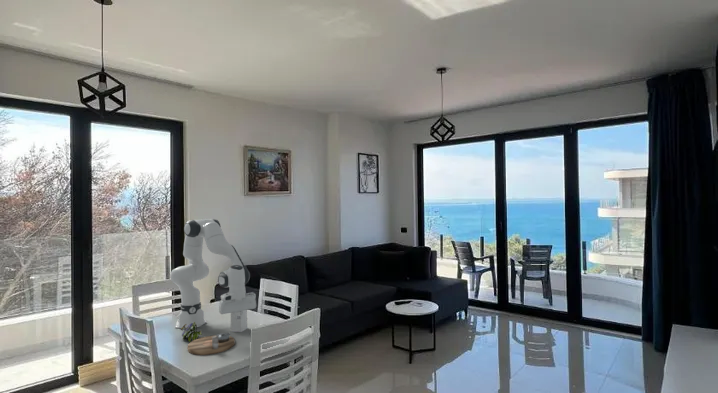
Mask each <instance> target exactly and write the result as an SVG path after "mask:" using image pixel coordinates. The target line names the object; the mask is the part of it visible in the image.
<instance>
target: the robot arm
mask: <svg viewBox="0 0 718 393" xmlns="http://www.w3.org/2000/svg"><path fill="white" fill-rule="evenodd" d="M183 226H184V227H183V232H184V234H185V238H184V242H183V251H182V255H183V257H184V259H186V260H188V264H186V265H181V266H177V267H176V268H173V269H172V270H171V272H170V276H169V277H170V281H171V282H172V283H173V284H174V285H176V286H177V287H178V289H179V292H180V296H181V297H180V298H181V304H180V312H179V314H178V315H176V320H177V321H176V323H175V329H181V328H182V327H183V326H184V325H185V324H186V326H185V328H187V327H188V326H189V325H190V324H191V323H194V322H195V323H196V325H197V328H199V327H202V326H203V325H206V324H207V323H208V321H207V320H206V319H205V313H204V312H205V311H204V310H203V309H202V302H201V290H200V289H199V288H197V287H195V286H194V283H193V282H197V281H201V280H203V279H205V278H207V277H208V276H209V273H210V269H209V266H208V265H207V264H206V263H205V262H204V259H203V247H204V246H203V245H204V241H205V244H206V247H207V249H208V250H209V251H210V252H211V253H212V254H215V255H220V256H224V257H227V258H228V259H229V260H230V262H231V263H232V264H231V266H229V268H228V269H226V270H223V271H221V272H220V273H219V274H218V277H217V278H218V279H217V281H218V285H219V286H220V287H221V288H228V289H229V290H228V292H226V293H223V294H221V295H220V299H221V300H219V305H218V312H219V314H220V315H227V314H231V313H232V312H233V314H234V315H235V319H236V320H237V319H241V316H242V314H243V311H244V310H247V311H249V310H253V309H254V310H255V309H256V308H257V301H256V298H257V294H256V293H255V292H246V285H247V284H248V283H249V281H250V278H251V273H250V271H249V269H248V268H247V267H246V265H245V263H244V262H243V261H242V260H243V259H242V258H241V257H240V255H239V253H238V251H237V249H236V248H235V246H234V245H233V244H231V243H230V242H229V241H228V240H227V239H226V237H225V234H224V232H223V230H222V228H221V223H220V221H219V220H218V219H215V218H202V219H190V220H188V221H186V222H185V223H184V225H183ZM238 311H240V315H238V316H237V315H236V314H237V312H238ZM195 327H196V326H195ZM185 328H183V329H184V330H185ZM183 329H182V330H183Z"/></svg>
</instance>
